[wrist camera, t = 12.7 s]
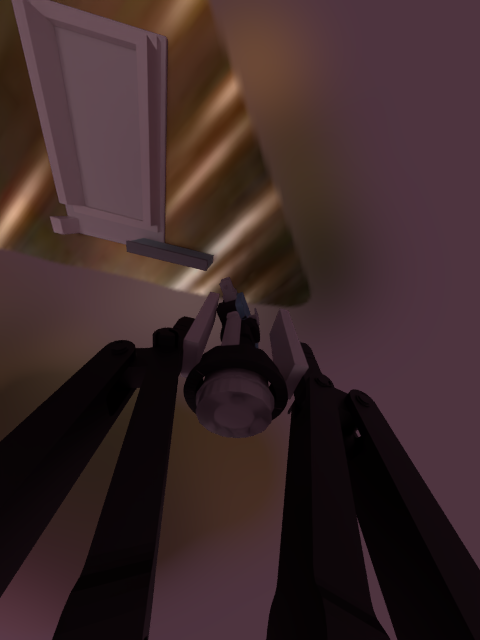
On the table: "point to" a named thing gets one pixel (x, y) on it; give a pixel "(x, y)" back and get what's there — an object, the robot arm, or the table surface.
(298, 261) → the table surface
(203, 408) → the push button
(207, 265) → the dark slender plank
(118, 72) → the tray
